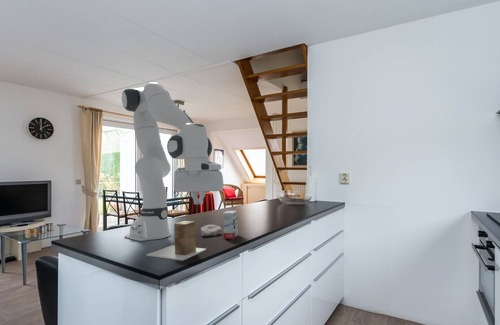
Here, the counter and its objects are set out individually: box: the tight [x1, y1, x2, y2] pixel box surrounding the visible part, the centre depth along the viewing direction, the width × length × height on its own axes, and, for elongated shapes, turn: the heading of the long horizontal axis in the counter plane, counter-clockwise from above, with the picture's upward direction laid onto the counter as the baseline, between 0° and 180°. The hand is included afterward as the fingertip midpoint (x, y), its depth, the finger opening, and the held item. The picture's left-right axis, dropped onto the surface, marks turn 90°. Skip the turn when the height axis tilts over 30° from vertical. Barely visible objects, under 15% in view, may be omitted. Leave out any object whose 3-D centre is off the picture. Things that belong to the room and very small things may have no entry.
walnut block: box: [173, 220, 197, 255], centre depth 103 cm, size 5×6×11 cm
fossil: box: [200, 224, 222, 237], centre depth 133 cm, size 9×6×10 cm
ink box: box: [222, 210, 239, 240], centre depth 127 cm, size 9×5×12 cm, turn 168°
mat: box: [146, 244, 207, 262], centre depth 104 cm, size 17×14×1 cm
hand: (198, 204), depth 100 cm, fingers closed
